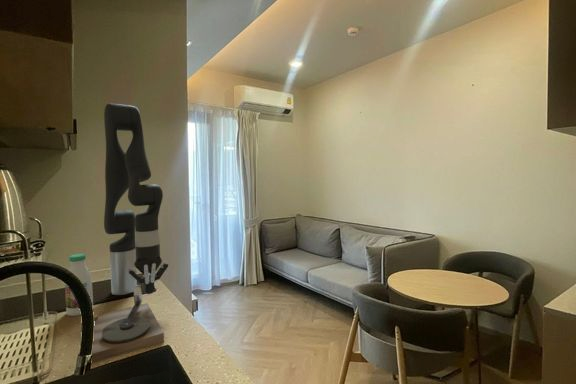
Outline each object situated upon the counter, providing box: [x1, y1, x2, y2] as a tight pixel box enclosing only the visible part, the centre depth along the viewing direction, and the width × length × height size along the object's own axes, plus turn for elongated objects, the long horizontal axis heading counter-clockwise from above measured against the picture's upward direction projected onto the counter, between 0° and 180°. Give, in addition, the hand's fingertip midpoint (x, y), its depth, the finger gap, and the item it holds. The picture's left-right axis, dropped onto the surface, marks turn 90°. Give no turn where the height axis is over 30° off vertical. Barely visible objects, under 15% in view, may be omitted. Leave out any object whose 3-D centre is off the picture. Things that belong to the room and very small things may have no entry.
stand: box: [92, 303, 165, 364], centre depth 89 cm, size 24×18×4 cm
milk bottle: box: [64, 253, 94, 317], centre depth 104 cm, size 8×8×20 cm
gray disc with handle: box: [102, 284, 150, 343], centre depth 90 cm, size 22×12×8 cm, turn 15°
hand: (149, 293), depth 102 cm, fingers closed
